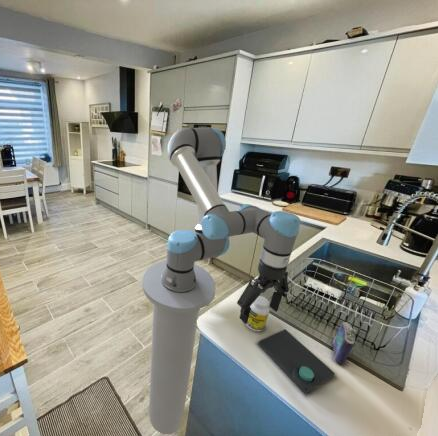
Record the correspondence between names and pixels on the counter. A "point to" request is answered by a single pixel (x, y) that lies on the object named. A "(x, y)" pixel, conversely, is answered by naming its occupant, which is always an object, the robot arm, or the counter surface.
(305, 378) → the scale button
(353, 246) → the counter surface
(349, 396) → the counter surface
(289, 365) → the scale
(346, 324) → the flask
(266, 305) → the pill bottle
